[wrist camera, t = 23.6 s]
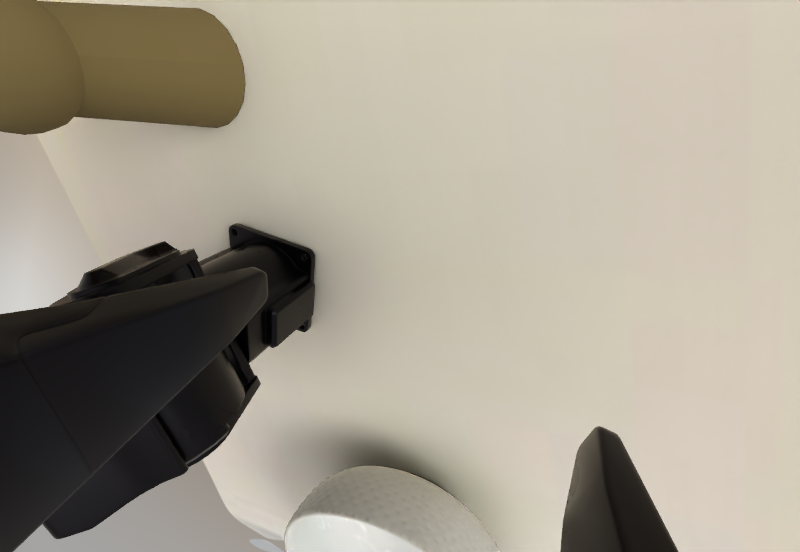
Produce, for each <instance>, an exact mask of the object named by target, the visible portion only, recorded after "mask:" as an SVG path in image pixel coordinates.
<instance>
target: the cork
mask: <svg viewBox="0 0 800 552" xmlns="http://www.w3.org/2000/svg"><path fill="white" fill-rule="evenodd" d="M244 91H245V78H244V69H243V63H242V60H241V57H240V54H239V51H238V48H237V45H236V44H235V42H234V40H233V39H232V37H231V35H230V34H229V32H228V30H227V29H226V28H225V27H224V26H223V25H222V24H221V23H220V22H219V21H218V20H217V19H216V18H215V17H214V16H213V15H211V14H209V13H207V12H205V11H203V10H201V9H197V8H175V7H154V6H132V5H110V4H89V3H67V2H45V1H36V0H0V131H2V132H8V133H16V134H24V135H26V134H38V133H44V132H47V131H50V130H53V129H56V128H59V127H61V126H63V125H66V124H67V123H68V122H69V121H70V120H71V119H72V118H73V117H84V118H97V119H110V120H123V121H136V122H149V123H162V124H175V125H188V126H201V127H214V128H218V127H221V126H224V125H227V124H229V123H230V122H231V121H232V120H233V119H234V118H235V117H236V116H237V114H238V112H239V110H240V108H241V105H242V103H243V98H244Z"/></svg>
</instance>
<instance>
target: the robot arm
mask: <svg viewBox="0 0 800 552" xmlns="http://www.w3.org/2000/svg"><path fill="white" fill-rule="evenodd" d="M236 230H237V231H236ZM237 232H238V233H237ZM229 238H230V248H228V249H226V250H223V251H221V252H219V253H217V254H215V255H213V256H210V257H208V258H206V259H204V260H202V261H200V262H198V260H197V259H198V256H197V254H196V252H195V250H194V249H189V250H185V251H181V252H180V251H179V250H177V249H175V248H173V247H172V246H171V245H169V244H168V243H166V242H165V241H164V242H160V243H157V244H154V245H151V246H149V247H146V248H143V249H141V250H138V251H135V252H133V253H130V254H127V255H125V256H122V257H120V258H118V259H115V260H113V261H111V262H109V263H107V264H104V265H102V266H100V267H98V268H95V269H93V270H91V271H89V272H87V273H85V274H84V276H83V278H82V280H81V282H80V284H79V286H78V287H77V288H75V289H74V290H72V291H70V292H69V293H67V296H65V297H63V298H62V299H60V300H58V301H56V302H55V303H53V304H52V305H50V307H45V308H39V309H33V310H26V311H19V312H13V313H6V314H0V552H13V551H14V550H15V549H16V548H17V547H18V546H20V545H21V543H23V542H24V541H25V540H26V539H27V538H28V537H29V536H30V535H31V534H32V533H33V532H34V531H35V530H36V529H37V528H38V527H39V526H40V525H41V524H43V525H44V526H45V528H46V529H47V530H48V531H49V532H50V534H51V535H52V536H53V537H54V538H56V539H61V538H65V537H68V536H71V535H74V534H77V533H80V532H83V531H86V530H89V529H92V528H93V527H95V526H96V525H98V524H99V523H101V522H102V521H104V520H105V519H106V518H107V517H109V516H110V515H112V514H113V513H114V512H116V511H117V510H119V509H120V508H122V507H123V506H124V505H126V504H127V503H129V502H130V501H132V500H133V499H135V498H136V497H138V496H139V495H141V494H143V493H144V492H146V491H148V490H150V489H152V488H154V487H155V486H157V485H159V484H161V483H163V482H165V481H168V480H170V479H173V478H175V477H178V476H180V475H182V474H184V473H185V472H186V471H187V470H188V467H190V466H191V465H193V464H195V463H197V462H199V461H200V460H202V459H203V458H205V457H206V456H208V455H209V454H210V453H212V452H213V451H214V450H215V449H216V448H217V447H218V446H219V445H220V444H221V443H222V442H223V441H224V440H225V439H226V437H227V436H228V435H229V433H230V432H231V430H232V429H233V427H234V425H235V424H236V422H237V421H238V419H239V418H240V416H241V414H242V413H243V411H244V410H245V408H246V406H247V405H248V403H249V402H250V400H251V399H252V397H253V395H254V394H255V392H256V391H257V389H258V387H259V386H260V384H261V383H260V381H259V379H258V377H257V376H256V375H254V373H253V371H252V369H251V367H250V365H249V363H250V362H251V361H252V360H253V359H255V358H256V357H257V356H258V355H259V354H260V353H262V352H263V351H264V350H265V349H266V348H267V347H269V346H270V347H272V348H274V347H276V346H278V345H279V344H280V343H281V342H283V341H284V340H285V339H286V338H287V337H288V336H289V335H290V334H292V333H293V332H294V331H295V330H296V329H297V330H299V331H301V332H306V331H307V330H308V329H309V328H310V327H311V318H312V315H313V308H314V292H315V284H314V268H315V254H314V252H313V251H312V250H311V249H309V248H306V247H303V246H300V245H298V244H295V243H292V242H289V241H286V240H283V239H281V238H278V237H275V236H272V235H269V234H266V233H264V232H261V231H258V230H255V229H252V228H249V227H247V226H244V225H241V224H234V225H232V226H230V228H229ZM305 254H306V255H307V256H308V258H306V256H305ZM303 324H304V325H303ZM561 552H678V550H677V548H676V546H675V544H674V542H673V540H672V538H671V536H670V534H669V532H668V531H667V529H666V527H665V525H664V523H663V521H662V519H661V517H660V515H659V513H658V511H657V509H656V507H655V505H654V503H653V501H652V499H651V497H650V495H649V494H648V492H647V490H646V488H645V486H644V484H643V482H642V480H641V478H640V476H639V474H638V472H637V470H636V468H635V466H634V464H633V462H632V460H631V458H630V457H629V455H628V453H627V451H626V449H625V447H624V445H623V443H622V441H621V439H620V437H619V436H618V435H617V434H616V433H614V432H611V431H609V430H607V429H605V428H603V427H600V426H598V427H596V428H594V430H593V431H592V432H591V433H590V434H589V436H588V437H587V438H586V439H585V440H584V442H583V443H582V444H581V445H580V447H579V449H578V452H577V455H576V460H575V465H574V470H573V475H572V479H571V484H570V489H569V494H568V499H567V504H566V509H565V514H564V520H563V528H562V539H561Z"/></svg>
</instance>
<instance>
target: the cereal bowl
mask: <svg viewBox="0 0 800 552" xmlns="http://www.w3.org/2000/svg"><path fill="white" fill-rule="evenodd" d="M284 543H285V549H286V552H500V550H499V548H498V546H497V544H496V542H495V541H494V540H493V538H492V536H491V534H490V533H489V532H488V531H487V529H486V528H485V526H484V525H483V524H482V523H481V522H480V521H479V519H478V518H476V517H475V516H474V515H473V513H472V512H471V511H470V510H469V509H467V508H466V507H465V506H464V504H462V503H461V502H459V501H458V500H457V499H456V498H455V497H453V496H452V495H451V494H450V493H448V492H446V491H444V490H443V489H442V488H440V487H438V486H437V485H435V484H433V483H431V482H429V481H428V480H425V479H423V478H421V477H418V476H416V475H412V474H411V473H408V472H405V471H402V470H397V469H394V468H387V467H383V466H361V467H359V466H357V467H354V468H348V469H346V470H342V471H340V472H338V473H335V474H333V475H332V476H330V477H328V478H327V479H326V480H324V481H322V482H321V483H320V484H319V485H318V486H317V487H316V488H314V490H313V491H312V492H311V493H310V494H309V495H308V496H307V498H306V499H305V501H304V502H302V504H301V505H300V506H299V508H298V510H297V511H296V512H295V513H294V515H293V517H292V518H291V520H290V521H289V523H288V525H287V528H286V531H285V536H284Z"/></svg>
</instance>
